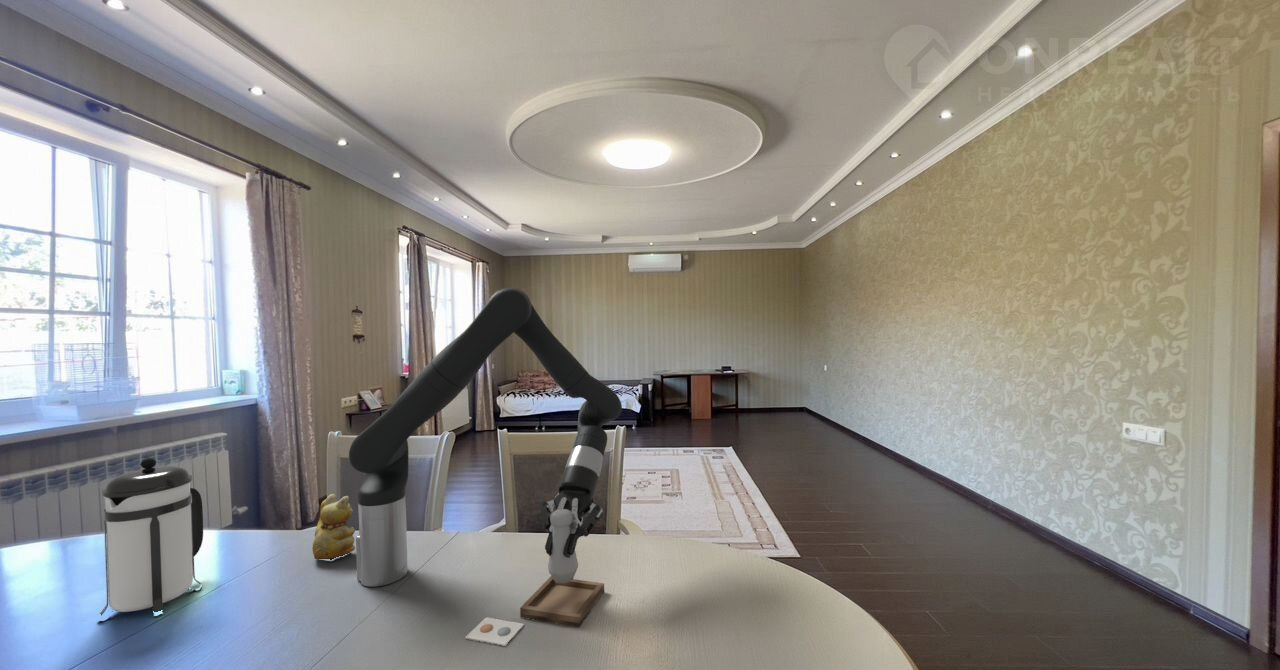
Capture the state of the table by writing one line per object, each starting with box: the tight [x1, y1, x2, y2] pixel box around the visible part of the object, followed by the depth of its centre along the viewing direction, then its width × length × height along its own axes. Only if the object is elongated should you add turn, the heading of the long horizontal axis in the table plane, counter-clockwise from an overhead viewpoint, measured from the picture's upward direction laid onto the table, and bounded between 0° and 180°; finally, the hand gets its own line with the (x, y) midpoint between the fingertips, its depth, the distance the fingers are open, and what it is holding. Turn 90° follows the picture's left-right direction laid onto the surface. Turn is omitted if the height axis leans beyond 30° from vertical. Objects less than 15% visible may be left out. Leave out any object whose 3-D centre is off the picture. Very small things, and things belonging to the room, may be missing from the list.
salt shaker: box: [547, 509, 579, 583], centre depth 93 cm, size 6×6×13 cm
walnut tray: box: [519, 575, 605, 628], centre depth 93 cm, size 12×12×2 cm
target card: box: [464, 617, 525, 647], centre depth 85 cm, size 8×6×1 cm
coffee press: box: [99, 457, 204, 616], centre depth 99 cm, size 17×16×30 cm
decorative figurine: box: [312, 493, 356, 561], centre depth 116 cm, size 10×8×15 cm
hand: (557, 554), depth 91 cm, fingers closed on salt shaker, 3 cm apart
